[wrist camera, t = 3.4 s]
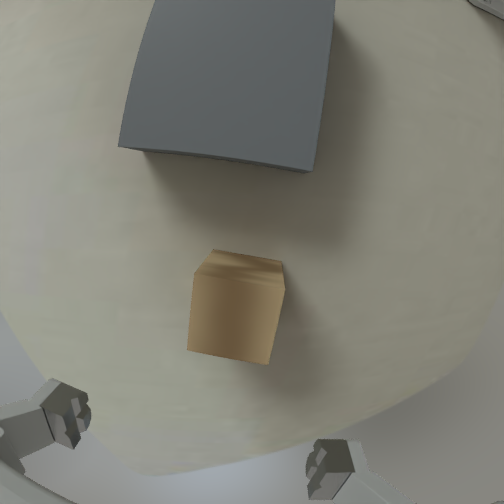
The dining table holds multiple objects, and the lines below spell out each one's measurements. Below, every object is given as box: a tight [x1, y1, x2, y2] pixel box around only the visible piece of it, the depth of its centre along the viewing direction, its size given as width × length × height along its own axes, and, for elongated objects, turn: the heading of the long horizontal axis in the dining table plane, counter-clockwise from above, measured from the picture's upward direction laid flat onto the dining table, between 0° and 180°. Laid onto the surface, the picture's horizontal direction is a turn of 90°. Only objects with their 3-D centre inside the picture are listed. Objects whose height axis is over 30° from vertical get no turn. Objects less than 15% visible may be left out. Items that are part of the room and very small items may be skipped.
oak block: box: [187, 249, 285, 365], centre depth 20 cm, size 5×5×6 cm
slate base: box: [118, 0, 335, 173], centre depth 17 cm, size 12×14×4 cm
